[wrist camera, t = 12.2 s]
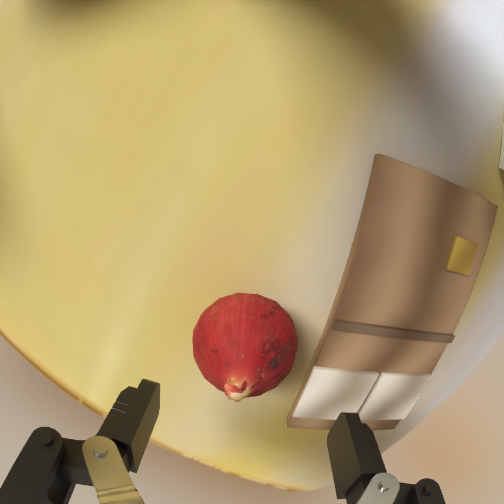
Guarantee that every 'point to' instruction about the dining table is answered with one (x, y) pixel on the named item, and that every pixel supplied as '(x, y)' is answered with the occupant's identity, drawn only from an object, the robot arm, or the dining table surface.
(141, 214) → the dining table surface
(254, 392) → the onion
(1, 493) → the robot arm
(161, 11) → the dining table surface
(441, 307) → the board
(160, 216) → the dining table surface
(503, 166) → the block
